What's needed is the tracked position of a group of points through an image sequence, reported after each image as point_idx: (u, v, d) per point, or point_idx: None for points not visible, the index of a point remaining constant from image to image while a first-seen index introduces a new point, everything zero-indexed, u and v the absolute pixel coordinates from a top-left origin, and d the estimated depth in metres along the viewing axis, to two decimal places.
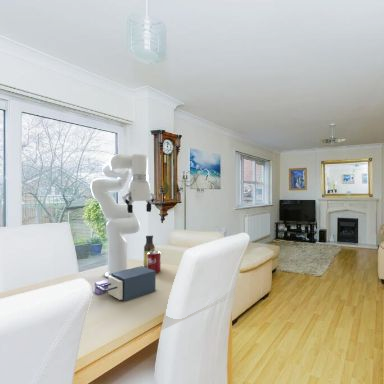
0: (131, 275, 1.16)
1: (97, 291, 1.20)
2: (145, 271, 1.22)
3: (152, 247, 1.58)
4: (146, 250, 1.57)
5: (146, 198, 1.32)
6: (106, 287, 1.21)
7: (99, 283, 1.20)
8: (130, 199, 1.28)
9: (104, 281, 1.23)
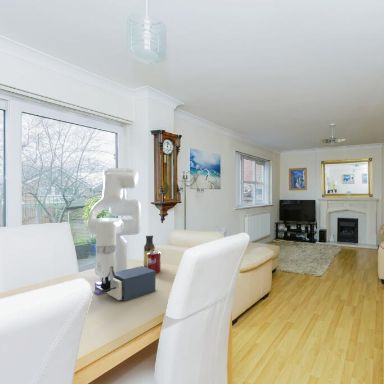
0: (131, 275, 1.16)
1: (97, 291, 1.20)
2: (145, 271, 1.22)
3: (152, 247, 1.58)
4: (146, 250, 1.57)
5: None
6: None
7: (99, 283, 1.20)
8: (107, 277, 1.10)
9: None
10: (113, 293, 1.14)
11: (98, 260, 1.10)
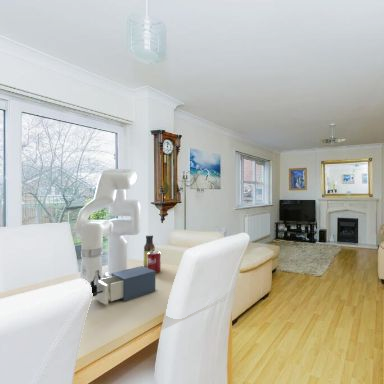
0: (131, 275, 1.16)
1: None
2: (145, 271, 1.22)
3: (152, 247, 1.58)
4: (146, 250, 1.57)
5: None
6: None
7: None
8: (93, 281, 1.06)
9: None
10: (100, 297, 1.09)
11: (83, 264, 1.06)
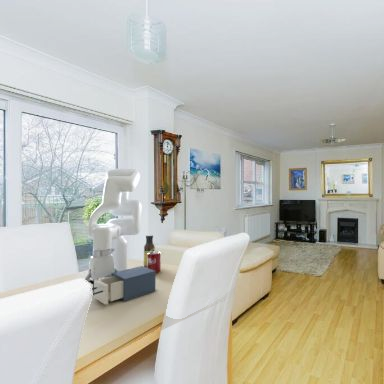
0: (131, 275, 1.16)
1: None
2: (145, 271, 1.22)
3: (152, 247, 1.58)
4: (146, 250, 1.57)
5: (109, 273, 1.22)
6: None
7: None
8: (93, 278, 1.19)
9: None
10: (100, 297, 1.09)
11: None
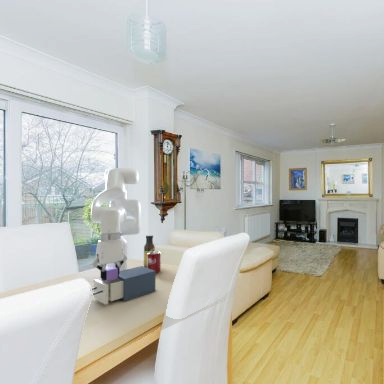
0: (131, 275, 1.16)
1: None
2: (145, 271, 1.22)
3: (152, 247, 1.58)
4: (146, 250, 1.57)
5: (118, 259, 1.14)
6: (115, 273, 1.13)
7: (107, 269, 1.12)
8: (101, 264, 1.11)
9: (112, 267, 1.14)
10: (100, 297, 1.09)
11: None
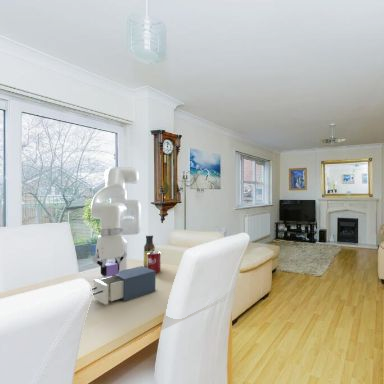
0: (131, 275, 1.16)
1: None
2: (145, 271, 1.22)
3: (152, 247, 1.58)
4: (146, 250, 1.57)
5: (118, 254, 1.14)
6: (115, 269, 1.12)
7: (107, 265, 1.11)
8: (101, 259, 1.10)
9: (112, 263, 1.14)
10: (100, 297, 1.09)
11: None
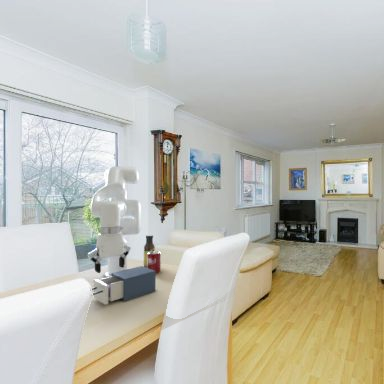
0: (131, 275, 1.16)
1: None
2: (145, 271, 1.22)
3: (152, 247, 1.58)
4: (146, 250, 1.57)
5: (118, 253, 1.14)
6: None
7: None
8: (98, 256, 1.10)
9: None
10: (100, 297, 1.09)
11: None
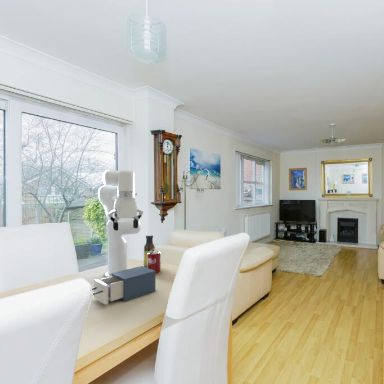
0: (131, 275, 1.16)
1: None
2: (145, 271, 1.22)
3: (152, 247, 1.58)
4: (146, 250, 1.57)
5: (132, 215, 1.31)
6: None
7: None
8: (116, 216, 1.27)
9: None
10: (100, 297, 1.09)
11: None
